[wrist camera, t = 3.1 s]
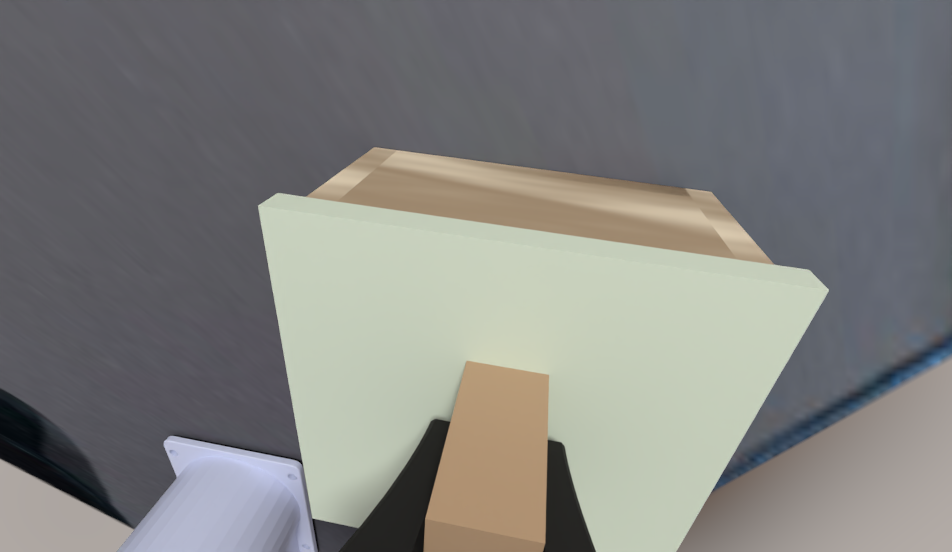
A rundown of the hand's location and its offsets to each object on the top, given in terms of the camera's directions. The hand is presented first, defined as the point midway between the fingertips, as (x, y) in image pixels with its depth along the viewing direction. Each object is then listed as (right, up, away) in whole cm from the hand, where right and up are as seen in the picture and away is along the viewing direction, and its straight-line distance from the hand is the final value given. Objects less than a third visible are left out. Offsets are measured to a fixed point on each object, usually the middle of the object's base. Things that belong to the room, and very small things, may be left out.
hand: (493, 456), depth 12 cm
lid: (0, +1, +1) cm, 1 cm away
